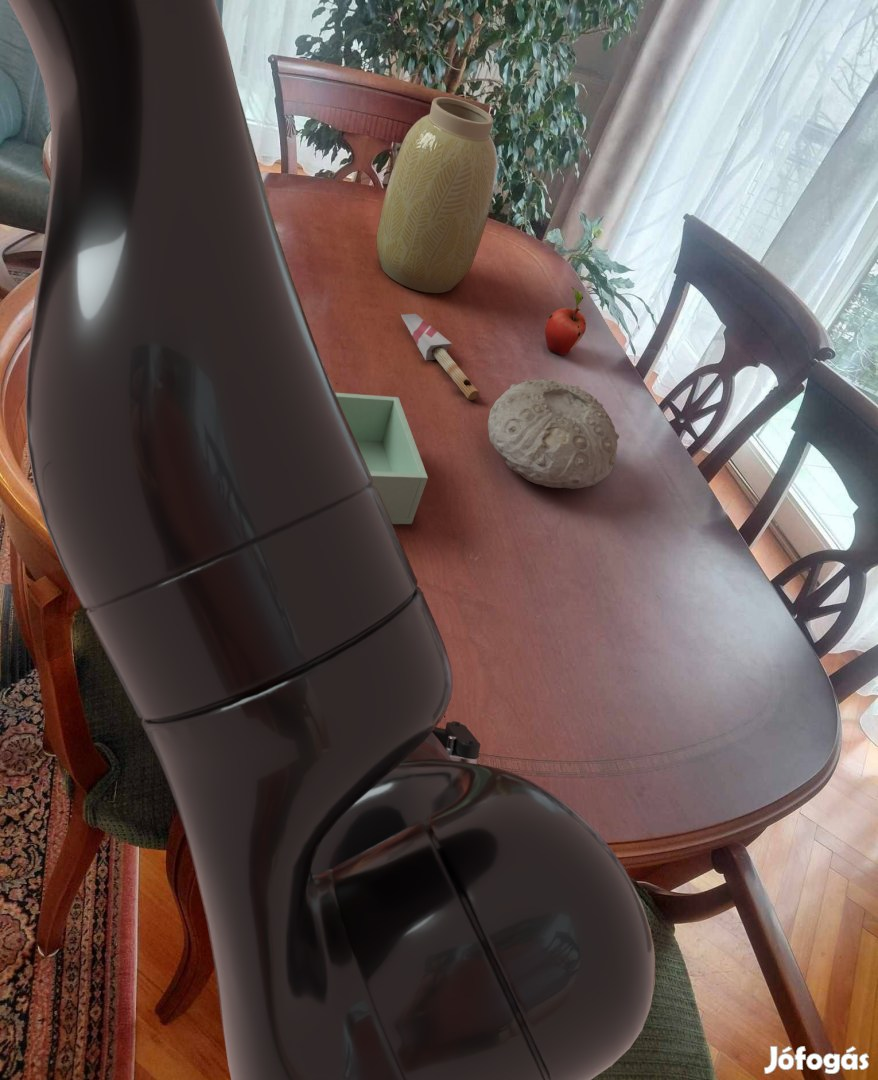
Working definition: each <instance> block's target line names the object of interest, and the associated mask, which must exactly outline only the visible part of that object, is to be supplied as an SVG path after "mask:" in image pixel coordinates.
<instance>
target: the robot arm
mask: <svg viewBox="0 0 878 1080" xmlns="http://www.w3.org/2000/svg"><path fill="white" fill-rule="evenodd" d="M7 2H8V3H9V5H10V8H11V9H12V11H13V13H14V14H15V16H16V18H17V20H18V23H19V24H20V26H21V28H22V31H23V33H24V35H25V37H26V40H27V41H28V43H29V45H30V48H31V51H32V53H33V56H34V59H35V60H36V63H37V66H38V69H39V72H40V76H41V79H42V83H43V87H44V92H45V96H46V100H47V106H48V113H49V124H50V133H51V134H50V139H51V140H50V164H49V165H50V168H49V169H50V170H49V194H48V203H47V212H46V219H45V228H44V238H43V244H42V245H43V246H42V251H41V257H40V264H39V269H38V277H37V283H36V288H35V294H34V296H35V297H34V301H33V309H32V319H31V326H30V335H29V343H28V344H29V345H28V354H27V363H26V370H25V371H26V372H25V428H26V440H27V452H28V458H29V464H30V465H29V466H30V470H31V475H32V481H33V487H34V490H35V491H34V492H35V494H36V497H37V501H38V505H39V508H40V512H41V515H42V519H43V522H44V526H45V528H46V529H45V530H46V531H47V533H48V536H49V539H50V541H51V543H52V545H53V548H54V550H55V553H56V555H57V558H58V561H59V563H60V565H61V567H62V570H63V572H64V573H65V575H66V577H67V580H68V581H69V583H70V585H71V587H72V590H73V591H74V593H75V595H76V598H77V599H78V601H79V603H80V606H81V607H82V609H83V610H86V611H85V615H86V617H87V619H88V621H89V623H90V625H91V627H92V629H93V631H94V633H95V635H96V637H97V639H98V641H99V643H100V644H101V647H102V649H103V651H104V653H105V655H106V657H107V659H108V661H109V663H110V665H111V667H112V669H113V671H114V673H115V675H116V677H117V679H118V681H119V683H120V685H121V687H122V689H123V691H124V692H125V695H126V697H127V699H128V700H129V701H128V702H129V703H130V705H131V707H132V709H133V711H134V713H135V715H136V716H137V717H138V718H139V719H141V722H140V725H141V726H142V729H143V731H144V733H145V735H146V737H147V739H148V741H149V743H150V745H151V747H152V749H153V751H154V753H155V756H156V758H157V760H158V762H159V764H160V767H161V769H162V773H163V774H164V777H165V779H166V783H167V785H168V787H169V790H170V792H171V795H172V798H173V801H174V803H175V806H176V810H177V813H178V815H179V819H180V821H181V826H182V828H183V832H184V835H185V839H186V843H187V847H188V849H189V853H190V854H189V855H190V857H191V860H192V865H193V868H194V873H195V877H196V882H197V886H198V890H199V895H200V898H201V902H202V907H203V911H204V915H205V920H206V925H207V931H208V938H209V942H210V948H211V953H212V960H213V966H214V974H215V983H216V989H217V996H218V1003H219V1011H220V1019H221V1027H222V1033H223V1038H224V1045H225V1053H226V1059H227V1066H228V1071H229V1075H230V1076H229V1077H230V1080H593V1079H594V1078H595V1077H597V1076H598V1075H600V1074H601V1073H603V1072H604V1071H606V1070H607V1069H608V1068H610V1067H612V1066H613V1065H614V1064H616V1062H617V1061H618V1060H619V1059H620V1058H621V1057H622V1056H623V1055H624V1054H625V1053H627V1052H628V1050H630V1049H631V1047H632V1045H633V1044H634V1043H635V1041H636V1040H637V1039H638V1037H639V1036H640V1035H641V1033H642V1031H643V1029H644V1026H645V1023H646V1020H647V1019H648V1016H649V1013H650V1011H651V1008H652V1007H651V1006H652V1000H653V996H654V990H655V985H656V955H655V945H654V940H653V935H652V930H651V926H650V923H649V918H648V916H647V912H646V910H645V907H644V905H643V902H642V900H641V896H640V895H639V891H638V890H637V888H636V886H635V884H634V882H633V880H632V878H631V877H630V875H629V874H628V873H629V872H627V870H626V869H625V867H624V865H623V863H622V861H620V858H619V857H618V856H617V854H616V853H615V852H614V851H613V849H612V847H610V845H609V844H608V843H607V842H606V840H605V839H604V838H603V837H602V836H601V835H600V833H598V831H597V830H596V829H595V828H594V827H593V826H592V825H591V824H590V823H589V822H588V821H587V820H586V819H585V818H584V817H583V816H582V815H581V814H580V813H579V812H578V811H576V810H574V809H573V807H571V806H570V805H569V804H568V803H566V802H565V801H564V800H563V799H561V798H560V797H558V796H557V795H556V794H554V793H553V792H551V791H549V790H547V789H546V788H544V787H543V786H541V785H539V784H537V783H536V782H534V781H532V780H530V779H528V778H526V777H524V776H522V775H520V774H518V773H515V772H513V771H509V770H507V769H506V770H505V769H502V768H499V767H494V766H489V765H485V764H479V763H478V762H479V756H480V751H481V750H480V749H481V743H480V742H479V740H478V739H477V738H476V736H474V735H473V733H472V732H471V730H470V729H469V728H468V727H467V726H466V725H465V724H462V723H461V722H460V721H455V720H452V721H448V722H445V723H446V724H445V728H442V727H438V725H439V723H440V722H441V721H442V719H443V717H444V716H445V714H446V712H447V710H448V706H449V705H450V703H451V700H452V694H453V688H454V687H453V685H454V684H453V681H454V680H453V679H454V678H453V671H452V665H451V662H450V658H449V655H448V652H447V648H446V646H445V642H444V641H443V637H442V635H441V633H440V629H439V628H438V625H437V623H436V621H435V618H434V616H433V613H432V611H431V609H430V607H429V604H428V602H427V599H426V597H425V595H424V593H423V591H422V589H421V587H419V586H418V583H419V582H418V578H417V576H416V574H415V572H414V570H413V567H412V565H411V563H410V561H409V558H408V556H407V554H406V551H405V549H404V546H403V545H402V542H401V539H400V538H399V536H398V532H397V531H396V529H395V527H394V524H392V522H391V519H390V517H389V515H388V513H387V510H386V508H385V506H384V503H383V501H382V499H381V497H380V494H379V492H378V490H377V487H376V485H373V484H372V483H373V479H372V476H371V474H370V472H369V470H368V467H367V465H366V463H365V461H364V458H363V456H362V454H361V452H360V449H359V447H358V445H357V443H356V440H355V438H354V436H353V434H352V431H351V429H350V427H349V425H348V422H347V420H346V418H345V416H344V413H343V411H342V409H341V406H340V404H339V401H338V399H337V396H336V394H335V393H336V392H335V389H334V387H333V384H332V381H331V378H330V377H329V374H328V372H327V369H326V366H325V364H324V361H323V359H322V355H321V354H320V351H319V349H318V346H317V344H316V342H315V339H314V336H313V334H312V330H311V327H310V325H309V322H308V319H307V316H306V314H305V311H304V308H303V306H302V302H301V300H300V297H299V294H298V292H297V289H296V286H295V283H294V280H293V277H292V274H291V272H290V268H289V265H288V262H287V259H286V256H285V252H284V250H283V247H282V243H281V240H280V237H279V234H278V231H277V227H276V225H275V222H274V218H273V214H272V210H271V207H270V203H269V198H268V195H267V191H266V188H265V184H264V180H263V177H262V173H261V169H260V166H259V162H258V158H257V155H256V151H255V148H254V143H253V139H252V135H251V131H250V128H249V125H248V121H247V117H246V114H245V109H244V106H243V102H242V100H241V95H240V93H239V89H238V85H237V81H236V77H235V72H234V68H233V64H232V60H231V56H230V51H229V47H228V43H227V39H226V35H225V31H224V27H223V24H222V20H221V17H220V13H219V10H218V9H219V8H218V6H217V5H218V4H217V1H216V0H7Z"/></svg>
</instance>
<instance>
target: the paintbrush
mask: <svg viewBox="0 0 878 1080" xmlns="http://www.w3.org/2000/svg"><path fill="white" fill-rule="evenodd" d="M400 316H401V318H402V320H403V322H404V324H405V325H406V328H407V329H408V331H409V333H410V335H411V336H412V339H413V340H414V342H415V345H416V346H417V348H418V349H419V352H420V353H421V355H422V357H423V359H424V361H433V360H434V361H435V360H436V361H437V362H438V363H439V365H440V367H442V368H443V370H444V371H445V372H446V373H447V374H448V376H449V377H450V378H451V379H452V381H453V382H454V383H455V384H456V386H457V387H458V389H459V390H460V391H461V392H462V393H463V395H464V396H465V397H466V398H467V400H469V401H474V400H476V399H477V398H478V396H479V395H480V392H479V390H478V388H476V386H475V384H474V383H472V382H471V380H470V379H469V378H468V376H466V374H465V373H464V371H463V370H462V369H461V368H460V367H459V366H458V364H457V363H456V362H455V361H454V359H453V358H452V357H451V356H450V354H449V353H448V352H447V351H448V349H449V347H451V346H452V344H453V343H452V342H451V341H449V340H448V339H447V338H446V337H445V336H443V334H441V333H440V332H439V331H437V330H436V329H435V328H434V327H432V326H431V325H430V324H429V323H427V321H425V320H424V319H423V318H422V317H420V316H419V315H418V314H416V313H405V314H400Z"/></svg>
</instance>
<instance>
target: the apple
mask: <svg viewBox="0 0 878 1080" xmlns="http://www.w3.org/2000/svg"><path fill="white" fill-rule="evenodd" d="M570 288H571V289H572V290H573V291H574V299H575V304H576V307H575V309H573V308H570V307H563V308H559V309H557V310H555V311H553V312H552V314H550V316H549V318H548V319H547V321H546V324H545V327H544V328H545V329H544V336H545V337H544V338H545V343H546V348H547V349H548V350H549V351H550V352H553V353H555V354H558V355H561V356H564V355H567V354H569V353H570V352H571V351H572V350H573V349H574V348H575V347H576V346H577V344H578V343H579V341H580V340H581V339H582V338H583V336H584V334H585V333H586V329H587V323H586V322H587V321H586V317H585V316H584V314H582V313H581V312H580V310H581V306H580V305H579V304H580V303H581V302H582V301H583V299H584V296H583V294H582V292H581V291H578V290H577V289H576V288H575V287H573V286H570Z"/></svg>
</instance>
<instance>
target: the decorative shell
mask: <svg viewBox="0 0 878 1080" xmlns="http://www.w3.org/2000/svg"><path fill="white" fill-rule="evenodd" d="M509 387H510V388H508V389H507V390H505V391H504V393H502V394H501V395H500V397H499V398H498V399H496V400H495V402H494V404H493V405H492V407H491V408H490V410H489V416H488V420H487V429H488V438H489V442H490V444H491V445H492V446H493V447H494V449H495V450H496V451H497V452H498V454H499V455H500V457H501V458H502V459H503V460H504V462H505V464H506V465H507V467H508V468H509V469H510V470H511V471H512V472H514V473H516V474H518V475H520V477H522V478H523V479H525V480H527V481H528V482H530V483H533V484H536V485H540V486H544V487H548V488H552V489H553V488H558V489H561V488H564V489H571V490H576V489H581V488H588V487H591V486H594V485H597V483H599V482H601V481H603V480H604V479H605V478H607V477H608V476H609V475H610V474H611V473H612V469H613V467H614V465H615V461H616V459H617V451H618V445H619V444H618V440H619V439H620V434H618V433H617V432H616V427H615V425H614V423H613V420H612V418H611V417H610V415H609V413H608V412H607V411H606V409H605V408H604V404H603V403H600V402H599V400H598V399H597V397H594V396H593V395H592V394H590V393H589V392H587V391H585V390H584V389H581V388H580V386H579V385H575V386H574V385H572V384H566V383H565V382H559V381H557V380H553V379H545V378H542V379H533V380H529V379H526V380H525V381H522V382H520V383H518V384H515V383H512V384H510V386H509Z"/></svg>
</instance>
